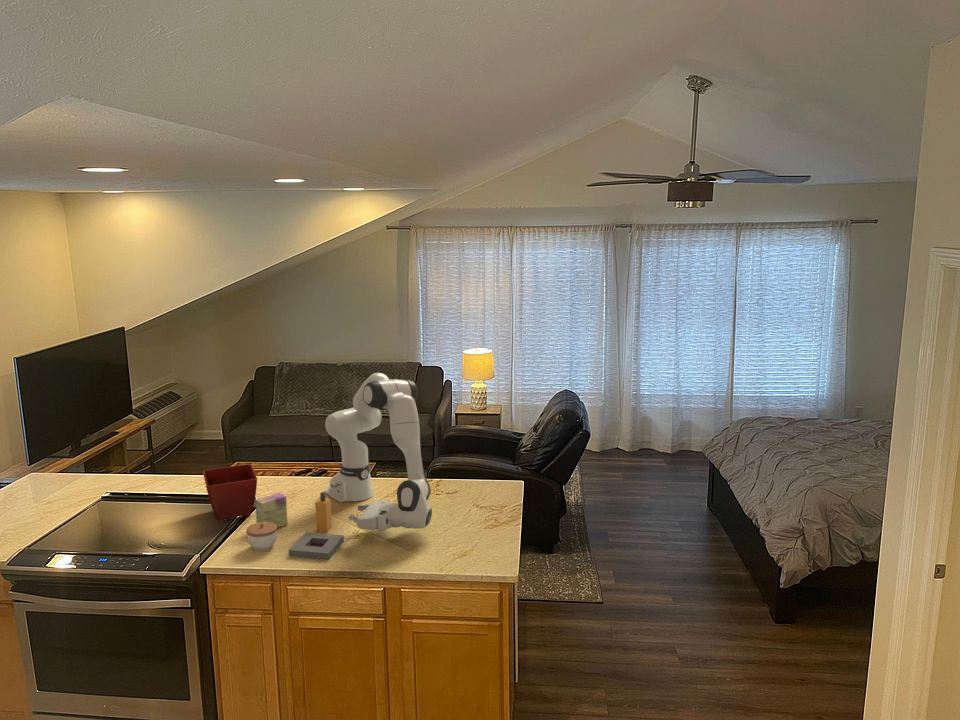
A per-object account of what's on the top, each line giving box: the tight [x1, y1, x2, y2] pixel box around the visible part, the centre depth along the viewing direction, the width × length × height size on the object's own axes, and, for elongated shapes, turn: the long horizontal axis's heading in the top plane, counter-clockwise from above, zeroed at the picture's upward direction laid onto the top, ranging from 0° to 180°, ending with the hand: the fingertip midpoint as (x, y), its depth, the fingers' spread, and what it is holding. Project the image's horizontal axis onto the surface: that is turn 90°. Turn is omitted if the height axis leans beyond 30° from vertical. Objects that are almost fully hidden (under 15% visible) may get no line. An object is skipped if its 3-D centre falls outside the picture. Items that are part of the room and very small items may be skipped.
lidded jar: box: [246, 522, 278, 552], centre depth 267 cm, size 11×11×9 cm
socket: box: [288, 531, 345, 561], centre depth 266 cm, size 15×15×2 cm
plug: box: [314, 491, 333, 534], centre depth 281 cm, size 4×4×15 cm
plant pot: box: [202, 463, 258, 521], centre depth 296 cm, size 19×19×17 cm
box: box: [254, 492, 288, 529], centre depth 284 cm, size 10×6×12 cm, turn 135°
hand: (353, 512), depth 278 cm, fingers open, 8 cm apart
